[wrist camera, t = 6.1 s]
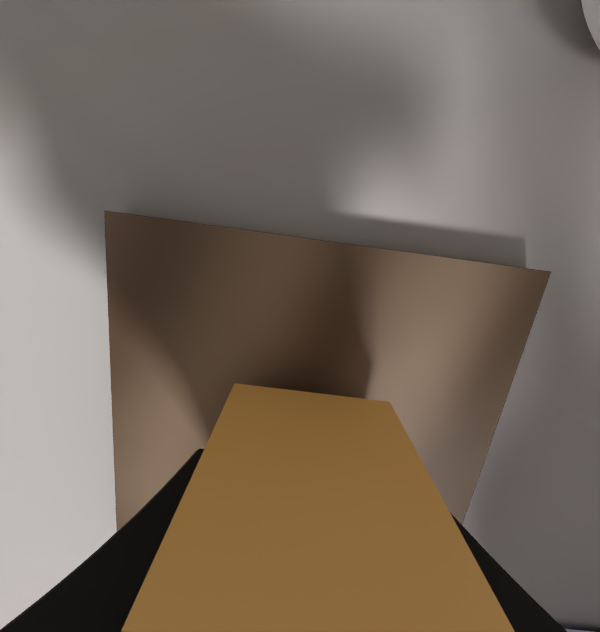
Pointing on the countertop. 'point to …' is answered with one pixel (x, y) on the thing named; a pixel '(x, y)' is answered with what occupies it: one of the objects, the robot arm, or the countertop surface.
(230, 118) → the countertop surface
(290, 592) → the golden yellow cube
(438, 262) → the flat brown square board
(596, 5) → the white ridged ball
